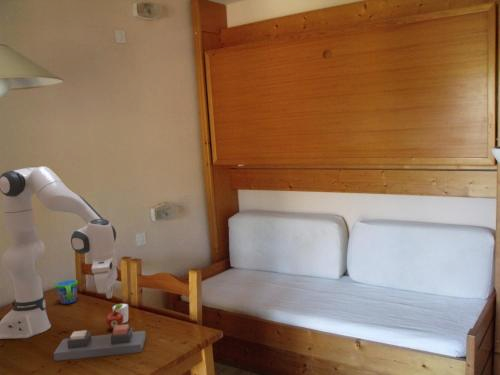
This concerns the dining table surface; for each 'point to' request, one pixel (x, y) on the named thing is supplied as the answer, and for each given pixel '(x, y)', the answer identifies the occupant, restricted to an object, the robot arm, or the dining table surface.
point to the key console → (100, 345)
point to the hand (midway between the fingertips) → (109, 297)
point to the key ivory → (79, 335)
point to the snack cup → (67, 291)
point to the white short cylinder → (122, 311)
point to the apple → (115, 317)
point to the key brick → (121, 329)
